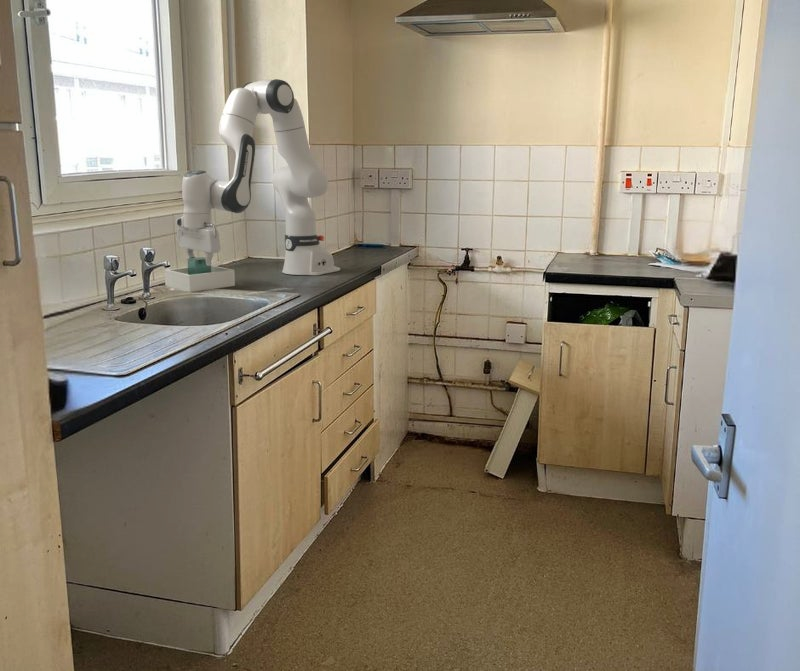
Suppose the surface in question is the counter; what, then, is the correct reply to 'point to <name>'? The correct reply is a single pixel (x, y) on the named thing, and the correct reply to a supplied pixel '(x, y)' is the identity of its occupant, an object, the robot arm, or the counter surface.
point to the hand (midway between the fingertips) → (200, 263)
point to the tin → (197, 266)
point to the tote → (199, 279)
